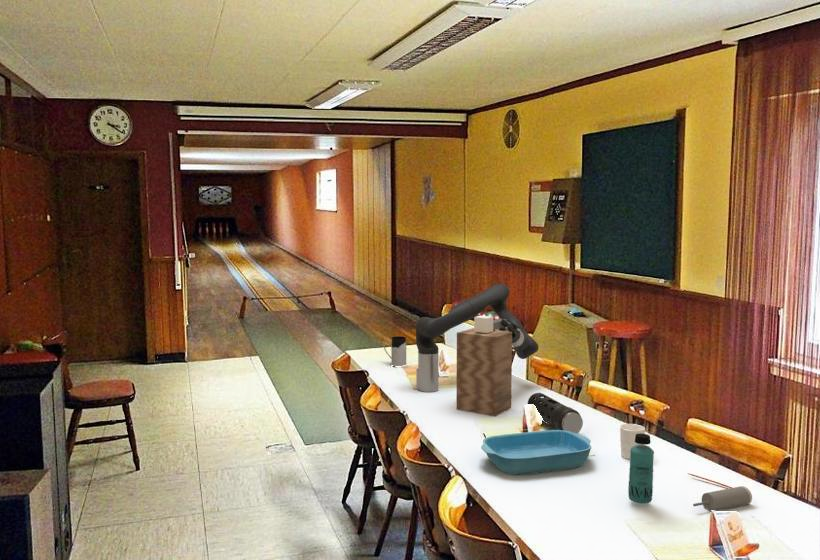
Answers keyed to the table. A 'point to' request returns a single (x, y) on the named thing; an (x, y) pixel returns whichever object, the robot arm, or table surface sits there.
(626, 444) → the white cup
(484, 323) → the plug
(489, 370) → the stand
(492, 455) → the casserole dish
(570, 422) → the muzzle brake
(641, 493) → the beverage bottle
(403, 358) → the glass holder
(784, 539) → the table surface
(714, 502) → the motor
